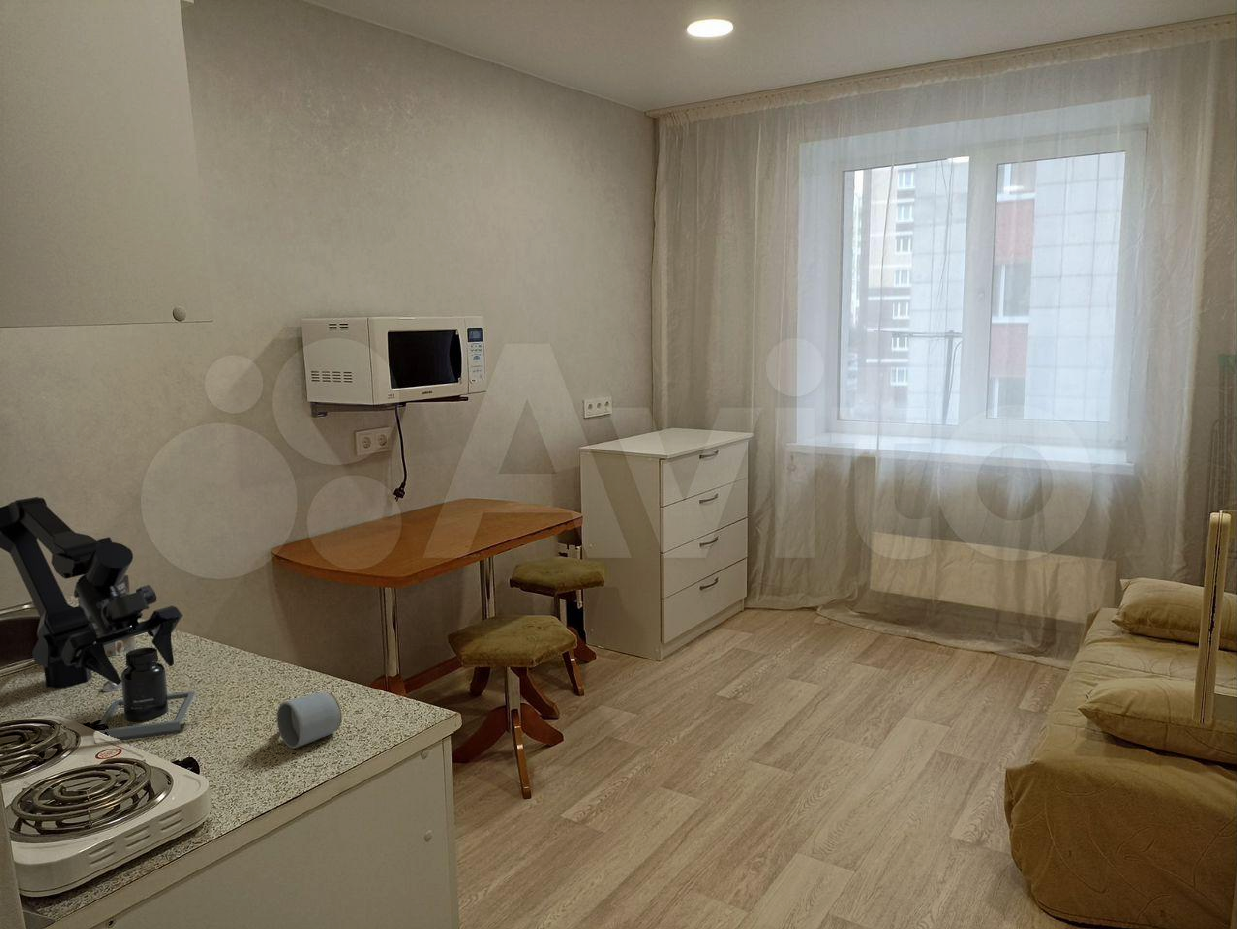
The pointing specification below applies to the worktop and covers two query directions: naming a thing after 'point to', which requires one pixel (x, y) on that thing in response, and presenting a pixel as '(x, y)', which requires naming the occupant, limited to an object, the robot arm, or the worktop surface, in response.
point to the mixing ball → (110, 686)
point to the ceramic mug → (308, 718)
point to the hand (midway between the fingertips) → (146, 673)
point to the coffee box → (120, 645)
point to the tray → (152, 728)
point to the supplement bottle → (143, 686)
